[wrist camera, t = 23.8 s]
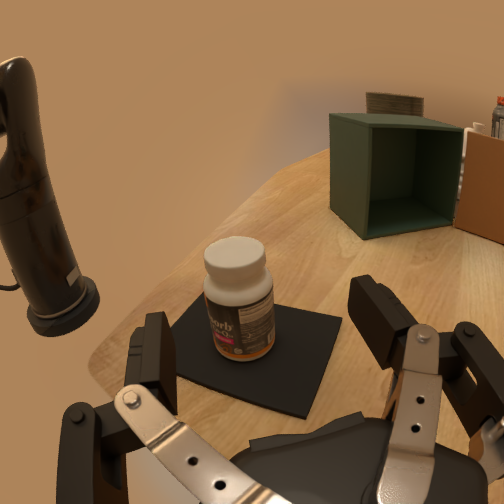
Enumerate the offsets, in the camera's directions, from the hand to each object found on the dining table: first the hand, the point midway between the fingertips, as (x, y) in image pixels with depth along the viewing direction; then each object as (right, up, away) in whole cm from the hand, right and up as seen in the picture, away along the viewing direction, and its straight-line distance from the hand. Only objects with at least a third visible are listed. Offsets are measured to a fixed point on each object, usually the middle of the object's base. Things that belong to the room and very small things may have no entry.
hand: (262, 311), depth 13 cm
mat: (-1, -6, +16) cm, 17 cm away
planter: (+53, +42, +91) cm, 113 cm away
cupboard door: (+44, +5, +28) cm, 52 cm away
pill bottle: (-1, -6, +16) cm, 17 cm away
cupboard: (+24, +9, +38) cm, 46 cm away
